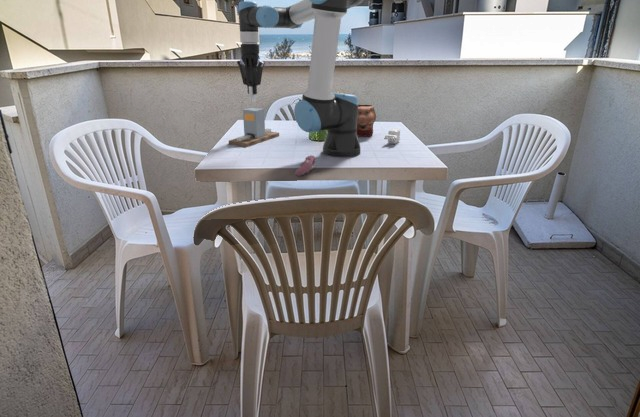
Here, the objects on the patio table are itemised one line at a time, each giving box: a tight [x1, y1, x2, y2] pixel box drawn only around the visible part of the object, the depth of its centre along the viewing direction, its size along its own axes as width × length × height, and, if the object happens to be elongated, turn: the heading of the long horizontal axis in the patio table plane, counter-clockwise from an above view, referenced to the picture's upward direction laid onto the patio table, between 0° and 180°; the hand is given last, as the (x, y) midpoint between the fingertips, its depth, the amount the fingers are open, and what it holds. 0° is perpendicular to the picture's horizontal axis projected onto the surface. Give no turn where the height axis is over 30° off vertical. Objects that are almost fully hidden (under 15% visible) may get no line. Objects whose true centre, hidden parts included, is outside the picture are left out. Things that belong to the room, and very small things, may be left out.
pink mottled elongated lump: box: [294, 154, 317, 177], centre depth 140 cm, size 10×5×7 cm, turn 170°
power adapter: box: [384, 128, 401, 145], centre depth 179 cm, size 11×5×6 cm, turn 152°
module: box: [242, 107, 266, 139], centre depth 183 cm, size 6×7×12 cm
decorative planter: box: [357, 103, 377, 137], centre depth 195 cm, size 20×12×14 cm, turn 1°
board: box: [228, 131, 280, 148], centre depth 185 cm, size 24×10×2 cm, turn 151°
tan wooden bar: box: [236, 128, 272, 142], centre depth 185 cm, size 22×2×2 cm, turn 151°
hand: (252, 101), depth 179 cm, fingers closed
